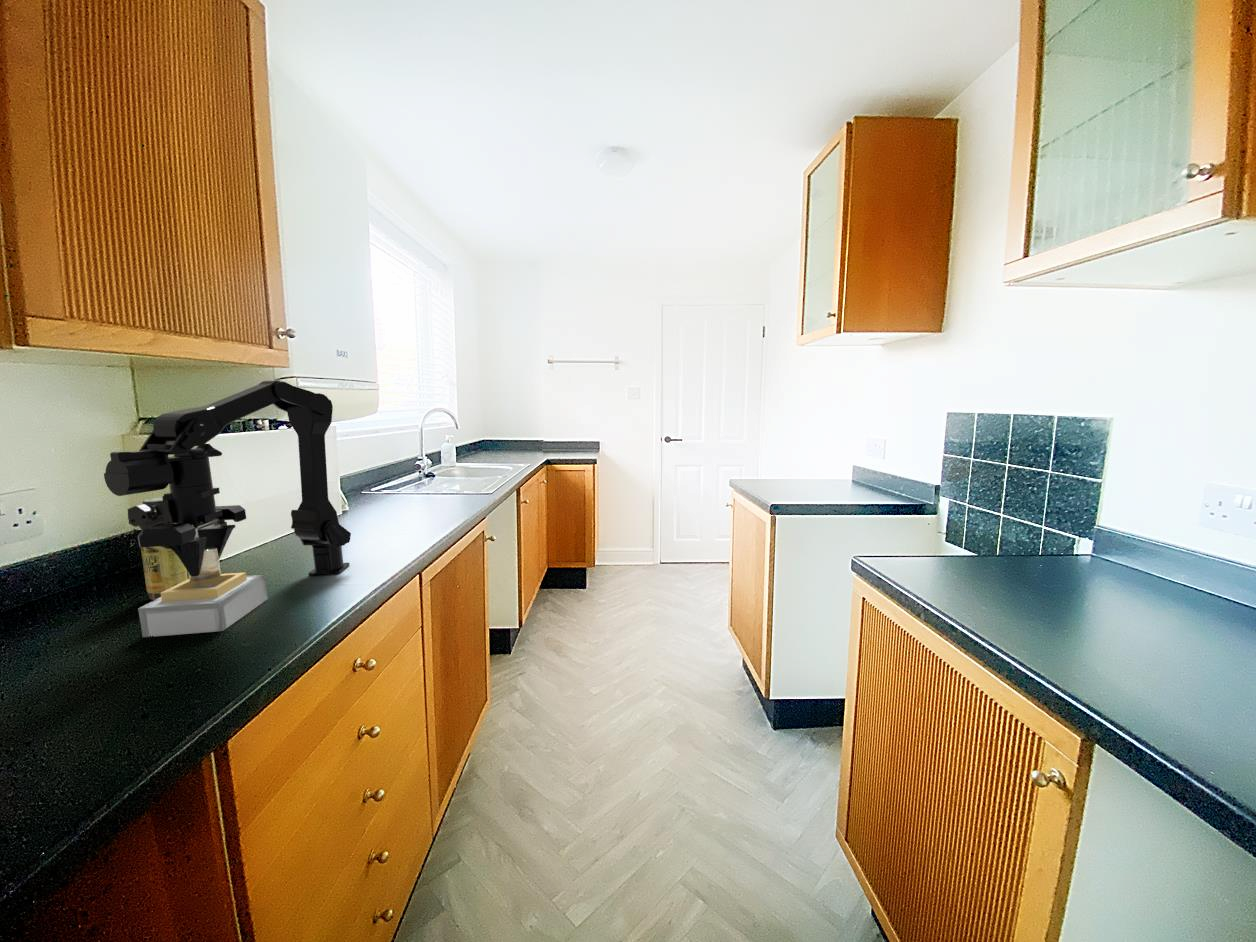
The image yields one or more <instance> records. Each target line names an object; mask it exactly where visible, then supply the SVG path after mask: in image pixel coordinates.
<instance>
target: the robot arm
mask: <svg viewBox="0 0 1256 942" xmlns="http://www.w3.org/2000/svg"><path fill="white" fill-rule="evenodd" d="M271 405H272V406H274V407H275V408H276V409H279V410H280V411H283V412H286V413H287V417H288V421H289V424H290V425H291V427H292V429H293V430H294V431H295V433H296V435H297V438H298V440H297V443H298V455H299V471H300V488H301V502H300V504H299V506H298V508H297V509H292V510H291V512H290V516H291V521H292V522H291V527H290V528H291V529H292V530H294V531H293V532H294V535H295V536H297V537H298V538H299V540H300V541H301V543H302V546H311V548H312V549H311V550H312V557H313V566H314V568H313V569H312V570H310V571H309V572H308V573H307V575H308V576H319V575H322V576H323V575H335V574H336V575H337V574H340V573H342V572H343V571H344V570H345V569H346V568H348V567H349V566H350V562H344V557H343V555H344V554H343V547H342V546H345V545H346V544H348V543H350V541H351V535H352V533H351V532H350V530H349V531H348V529H346V528H345V527H344V526H343V525H341V524H340V523H339V517H338V512H337V511H336V508H334V505H332V503H331V501H330V498H329V491H328V490H329V488H328V487H329V486H328V474H327V473H328V472H327V471H328V470H327V453H326V437H325V436H326V433H327V432H328V430H329V428H330V426H331V425H332V422H333V421H332V420H333V410H334V409H333V403H332V401H331V399H329V398H328V397H327V395H325V394H324V393H317V392H316V393H315V392H313V391H311V390H307V389H305V388H301V387H298V386H295V385H292V384H289V383H288V382H285V381H283V380H281V379H280V380H279V379H274V380H263V381H261V382H260V383H258V384H256V385H254V386H252V387H251V386H250V387H249V388H246V389H244V390H242V391H239V392H237V393H234V394H232V395H229V396H227V397H224V398H222V399H219V400H217V401H214V402H212V403H209V404H207V405H203V406H198V407H190V408H185V409H178V410H175V411H169V412H164V413H162V414H159V415H158V416H156V418H155V419H154V423H153V427H152V431H151V432H150V434H149V435H148V437H147V438H146V440H145V441H144V443H143V444H142V446H141V447H140V449H139V450H138V451H137V450H136V451H113V452H110V454H109V456H110V461H108V463H107V464H106V467H105V472H104V473H103V478H104V481H105V484H106V487H107V488H108V490H109V491H110V492H111V493H112V494H113V495H114V496H118V497H121V496H122V497H123V496H130V495H134V494H135V495H137V494H142V493H149V492H154V491H156V492H157V491H160V490H165V489H166V488H167V487H168V486H169V487H168V488H169V491H170V492H166V493H163V495H162V497H161V498H162V499H163V503H162V504H159V505H156V506H153V507H148V506H147V505H145V504H143V503H142V504H137V505H134V506H132V507H130V508H127V520H128V524H129V525H130V526H133V527H134V528H136V527H138V528H139V529H140V530H141V531H140V532H139V533H138V534H137V541H138V546H139V548H141V547H156V546H165V547H167V548H169V549H171V550H173V551H174V552H175V553H176V555H177V556H178V557H179V559H180V560H181V562H182V563H183V565H184V566H185V568H186V570H187V573H188V572H189V574H190V575H191V576H198V575H199V574H200V570H201V566H202V560H203V555H204V549H205V547H207V546H216V547H217V550H218V557H219V560H220V559H221V556H222V554H223V552H224V549H225V547H226V544H227V542H228V541H229V538H230V536H231V534H232V531H233V530H234V529H235V528H236V524H228V523H227V522H228V521H230V520H231V521H233V522H235V523H239V522H242V521H244V520H247V515H246V514H247V513H246V509H245V508H244V507H242V506H241V505H238V504H237V505H219V506H218V505H217V504H216V498H215V495H218V494H220V487H214V485H213V477H212V470H211V464H210V458H214V457H221V456H222V455H223V453H222V452H221V451H220V450H219V449H217V448H214V447H213V446H212V445H211V444H210V443H208V442H210V441H211V440H213V439H215V438H216V437H217V436H218V435H220V434H221V433H222V431H223V430H224V428H225V427H226V426H228V425H230V424H231V423H233V422H235V421H238V420H240V419H243V418H244V417H246V416H250V415H251V414H253V413H256V412H258V411H260V410H262V409H264V408H266V407H269V406H271ZM195 447H196V448H195ZM169 455H172V456H169ZM173 523H174V524H173Z"/></svg>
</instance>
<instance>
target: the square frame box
mask: <svg viewBox="0 0 1256 942" xmlns="http://www.w3.org/2000/svg"><path fill="white" fill-rule="evenodd" d="M265 576H266V575H265V574H254V575H251V574H250V575H247V572H245V571H244V572H231V573H221V575H220V576H218V577H216V578H213V579H209V580H204V581H189V578H188V579H187V580H185V581H183V582H181V583H179V584H177V585H175V586H173V587H171V588H169V589H167V590H165V591H163V592H161V597H160V598H158V599H156V600H151V601H150V602H149V603H146V604H144V605H143V606H140V607H139V608H137V611H138V616H139V622H140V629H141V634H142V635H141V636H142V638H153V637H163V636H164V637H165V636H177V635H178V636H179V635H188V634H190V635H191V634H201V633H214V632H224V631H225V630H226V629H228V628H229V627H231V626H232V625H233V624H235V623H236V622H237V621H239V620H241V619H242V618H244V617H245V616H246V615H247V614H249V613H250V612H252V611H253V610H255V609H256V608H258V607H259V606H260V605H262V604H263V603H265V602H266V601H267V600H268V599H269V598H268V592H267V591H268V590H267V583H266V577H265ZM150 636H151V637H150ZM152 636H153V637H152Z"/></svg>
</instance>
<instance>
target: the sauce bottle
mask: <svg viewBox="0 0 1256 942" xmlns="http://www.w3.org/2000/svg"><path fill="white" fill-rule="evenodd" d="M162 503H163V499H162V497H153V498H148V499H144V500H143V501H142V504H145V505H147V506H148V507H153V506H156V505H159V504H162ZM173 524H175V523H173ZM140 550H141V551H140V552H141V560H142V565H143V573H144V579H145V588H146V592H147V593H148V598H149V600H151V601H154V600H156V599H158V598H160V597H161V592H163V591H165V590H167V589H169V588H171V587H173V586H175V585H177V584H179V583H181V582H183V581H185V580H187V579H189V577H188V571H187V569H186V568H185V566H184V565H183V563H182V562H181V560H180V559H179V557H178V556H177V555H176V553H175V552H174V551H173V550H171V549H169V548H167V547H165V546H156V547H140Z"/></svg>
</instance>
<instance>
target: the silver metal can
mask: <svg viewBox="0 0 1256 942" xmlns="http://www.w3.org/2000/svg"><path fill="white" fill-rule="evenodd" d="M220 564H221V563H220V559H219V557H218V550H217V547H216V546H207V547H205V549H204V555H203V560H202V566H201V570H200V574H199V575H198V576H191V575H190V574H189V572H188V571H187V576H188V579H189V581H204V580H209V579H213V578H216V577H218V576H220V575H221V574H222V572H221V567H220Z"/></svg>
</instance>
